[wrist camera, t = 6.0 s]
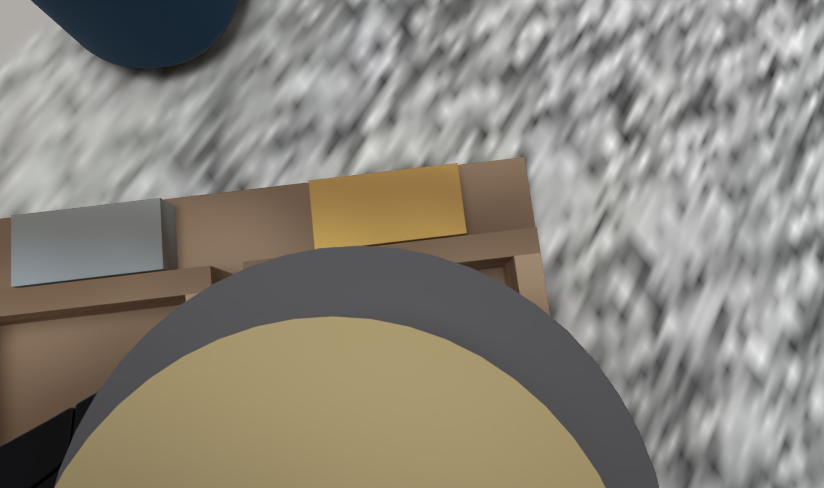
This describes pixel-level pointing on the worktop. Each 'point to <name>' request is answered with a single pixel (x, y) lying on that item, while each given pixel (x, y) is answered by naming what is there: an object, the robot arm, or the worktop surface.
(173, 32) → the soda can
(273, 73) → the worktop surface
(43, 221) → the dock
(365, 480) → the grey bottle
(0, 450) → the robot arm
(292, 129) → the worktop surface
